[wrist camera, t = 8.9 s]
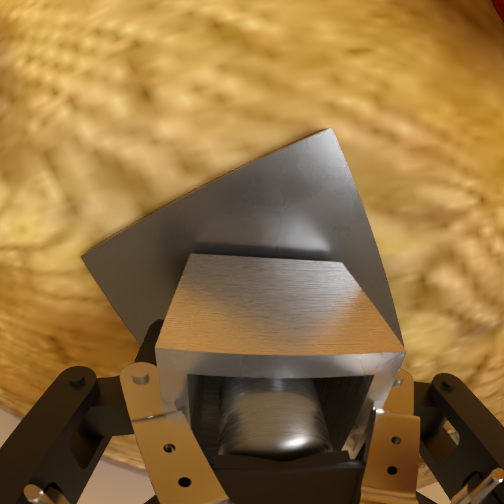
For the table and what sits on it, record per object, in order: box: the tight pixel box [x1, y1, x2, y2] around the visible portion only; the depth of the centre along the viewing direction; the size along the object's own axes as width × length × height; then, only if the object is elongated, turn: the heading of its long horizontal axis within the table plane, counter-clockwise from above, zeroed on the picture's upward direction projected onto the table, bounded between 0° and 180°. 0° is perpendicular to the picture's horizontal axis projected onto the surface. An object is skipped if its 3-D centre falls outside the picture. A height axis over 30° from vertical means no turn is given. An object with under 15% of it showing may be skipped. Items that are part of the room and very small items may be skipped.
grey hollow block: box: [155, 253, 406, 464], centre depth 11 cm, size 10×6×6 cm, turn 176°
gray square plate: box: [81, 128, 404, 462], centre depth 11 cm, size 12×12×9 cm
